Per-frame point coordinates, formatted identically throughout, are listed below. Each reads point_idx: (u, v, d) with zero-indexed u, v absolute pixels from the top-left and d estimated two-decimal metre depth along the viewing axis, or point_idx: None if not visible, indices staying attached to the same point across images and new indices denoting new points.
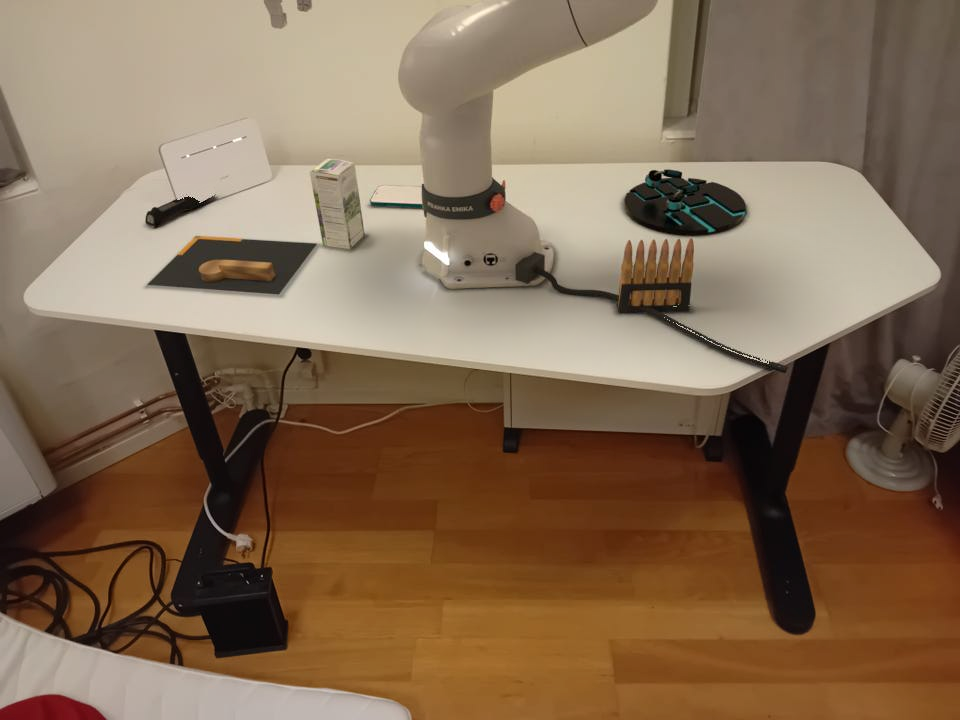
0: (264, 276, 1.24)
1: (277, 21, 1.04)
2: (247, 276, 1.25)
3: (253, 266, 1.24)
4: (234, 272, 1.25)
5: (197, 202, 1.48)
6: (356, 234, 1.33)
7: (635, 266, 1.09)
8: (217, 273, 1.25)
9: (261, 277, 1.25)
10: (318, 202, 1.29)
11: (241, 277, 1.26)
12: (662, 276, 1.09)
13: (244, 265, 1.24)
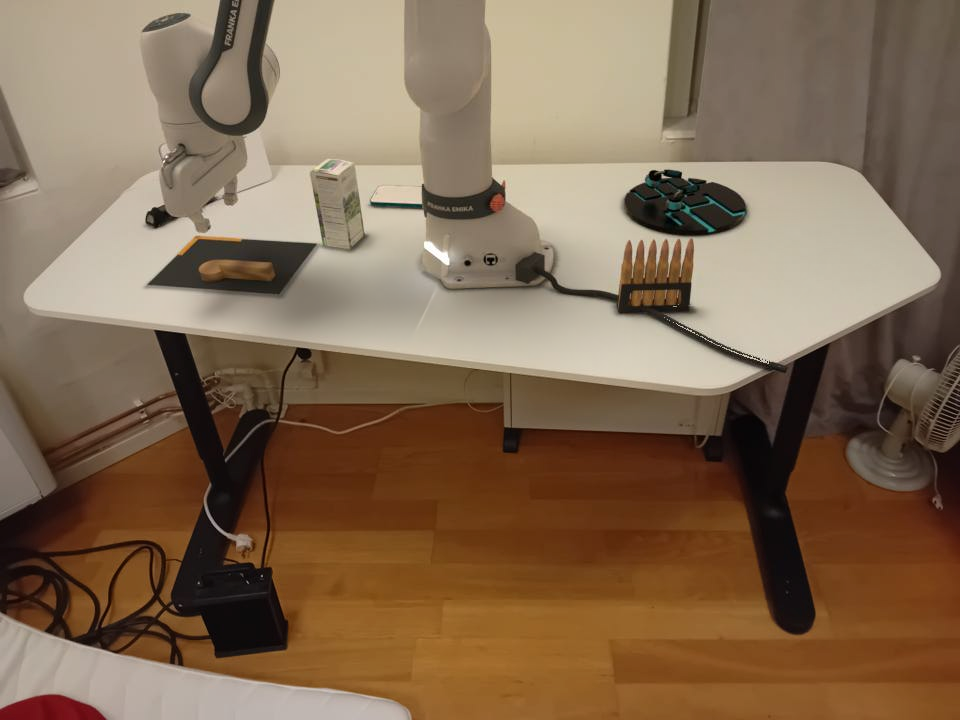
0: (264, 276, 1.24)
1: (201, 227, 1.15)
2: (247, 276, 1.25)
3: (253, 266, 1.24)
4: (234, 272, 1.25)
5: None
6: (356, 234, 1.33)
7: (635, 266, 1.09)
8: (217, 273, 1.25)
9: (261, 277, 1.25)
10: (318, 202, 1.29)
11: (241, 277, 1.26)
12: (662, 275, 1.09)
13: (244, 265, 1.24)
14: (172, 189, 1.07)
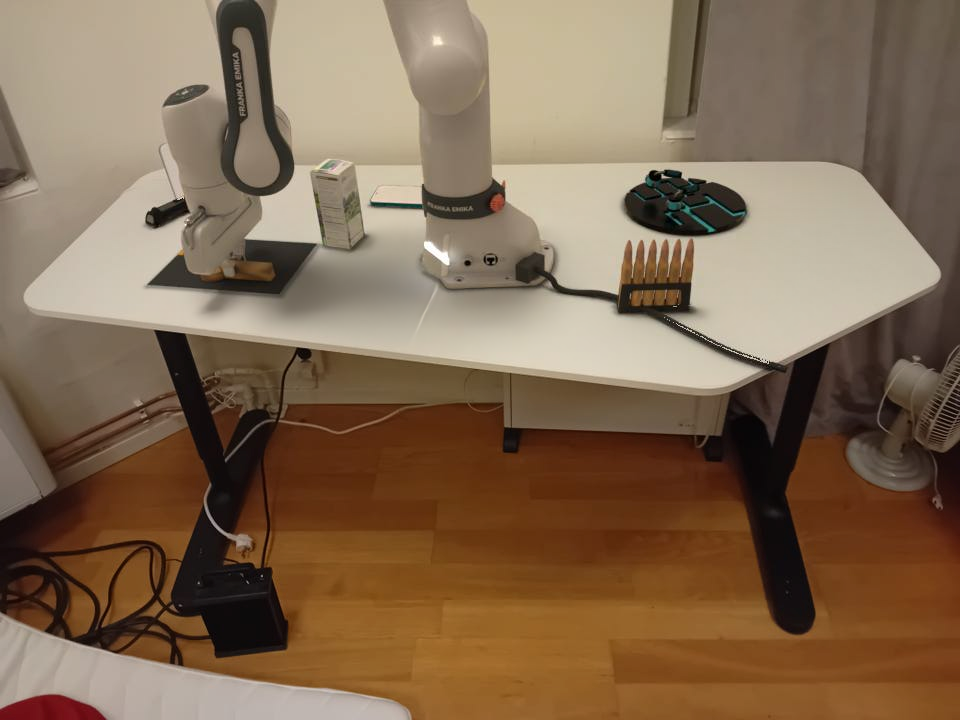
0: (264, 276, 1.24)
1: (228, 271, 1.24)
2: (247, 276, 1.25)
3: (253, 266, 1.24)
4: None
5: None
6: (356, 234, 1.33)
7: (635, 266, 1.09)
8: (217, 273, 1.25)
9: (261, 277, 1.25)
10: (318, 202, 1.29)
11: (241, 277, 1.26)
12: (662, 275, 1.09)
13: (244, 265, 1.24)
14: (193, 249, 1.13)
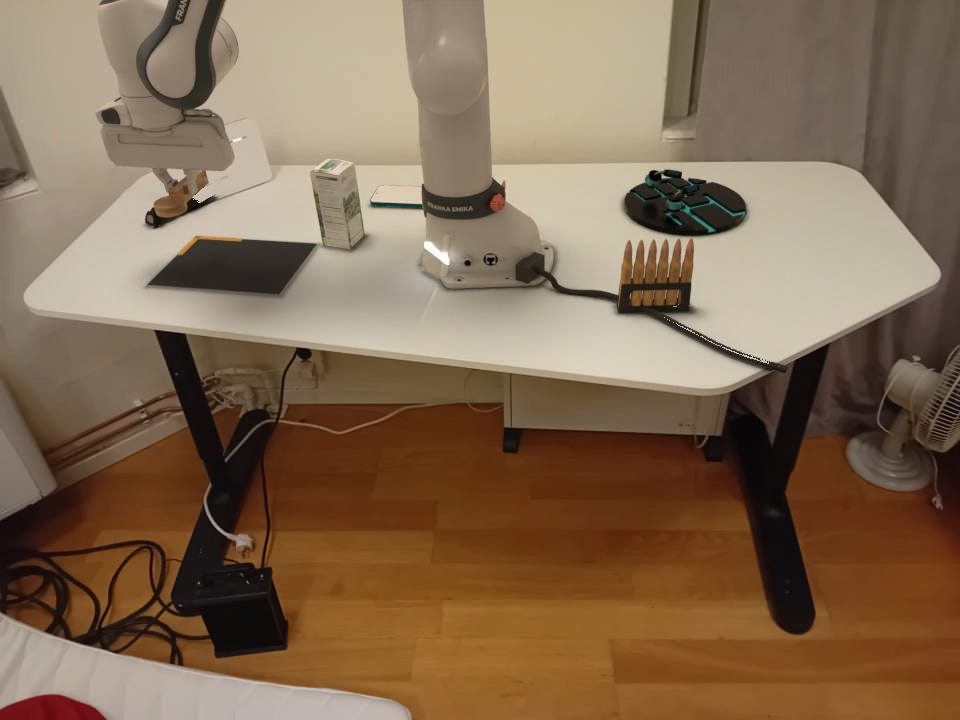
0: (205, 180, 1.26)
1: (194, 187, 1.20)
2: None
3: None
4: None
5: (197, 202, 1.49)
6: (356, 234, 1.33)
7: (635, 266, 1.09)
8: (184, 198, 1.19)
9: (203, 183, 1.25)
10: (318, 202, 1.29)
11: (193, 194, 1.23)
12: (662, 275, 1.09)
13: None
14: (224, 138, 1.14)
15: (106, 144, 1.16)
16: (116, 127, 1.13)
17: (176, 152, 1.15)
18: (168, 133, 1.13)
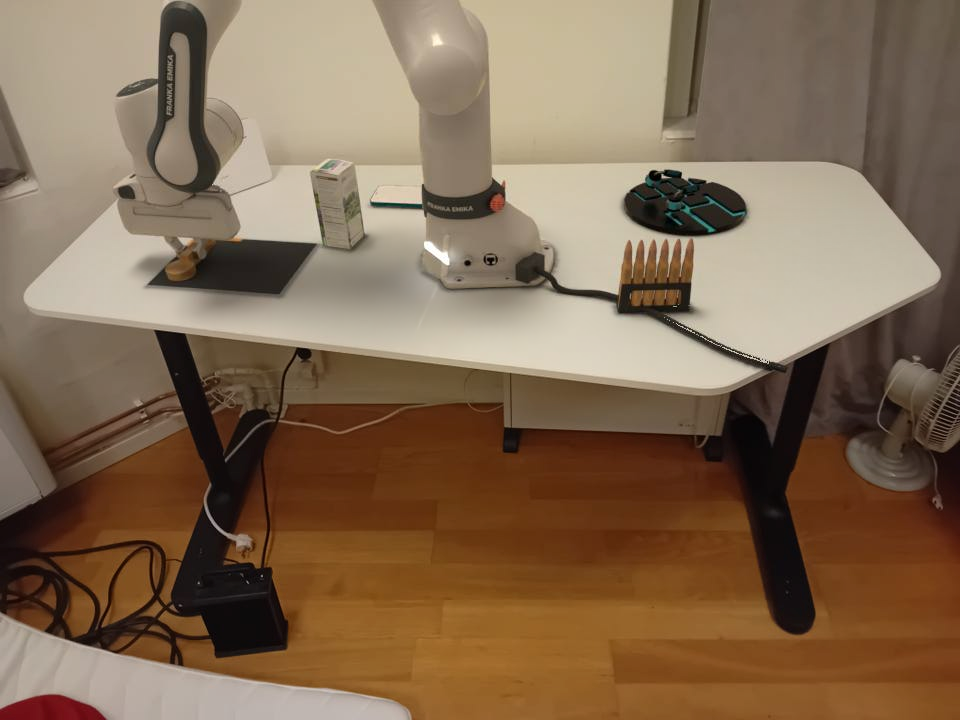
0: (212, 242, 1.35)
1: (203, 252, 1.30)
2: None
3: None
4: None
5: None
6: (356, 234, 1.33)
7: (635, 266, 1.09)
8: (193, 262, 1.28)
9: (211, 245, 1.34)
10: (318, 202, 1.29)
11: None
12: (662, 275, 1.09)
13: None
14: (230, 210, 1.23)
15: (122, 215, 1.25)
16: (131, 201, 1.23)
17: (187, 224, 1.24)
18: (179, 207, 1.22)
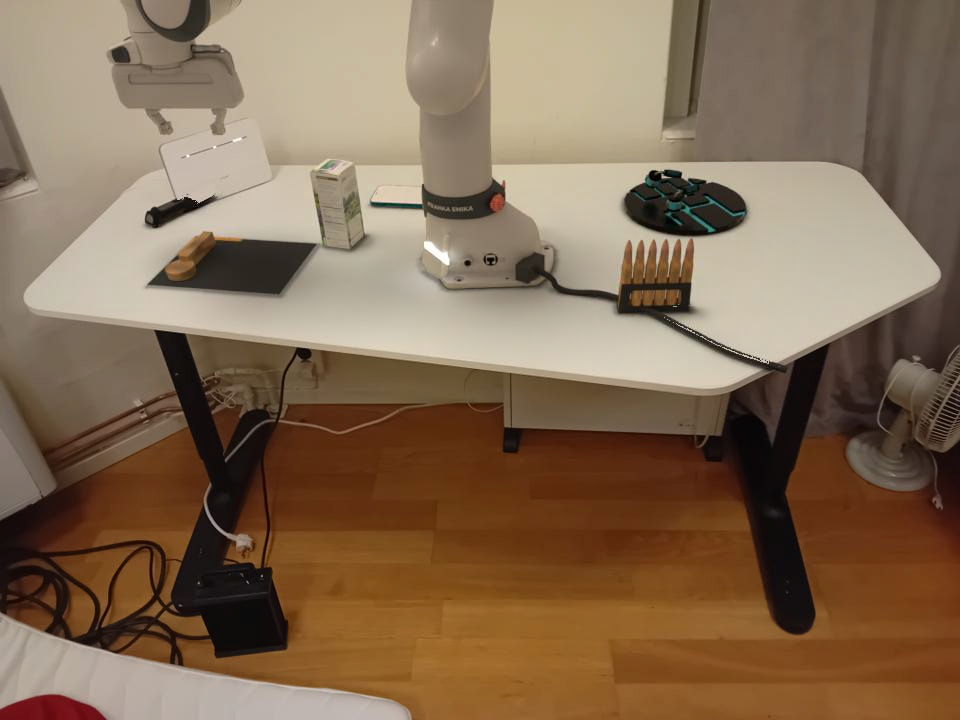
0: (212, 242, 1.35)
1: (222, 128, 1.20)
2: (204, 252, 1.33)
3: (204, 238, 1.33)
4: (197, 255, 1.30)
5: (196, 202, 1.49)
6: (356, 234, 1.33)
7: (635, 266, 1.09)
8: (193, 262, 1.28)
9: (211, 245, 1.34)
10: (318, 202, 1.29)
11: (201, 256, 1.32)
12: (662, 275, 1.09)
13: (199, 243, 1.31)
14: (233, 74, 1.15)
15: (117, 85, 1.17)
16: (126, 66, 1.14)
17: (186, 91, 1.16)
18: (178, 70, 1.13)
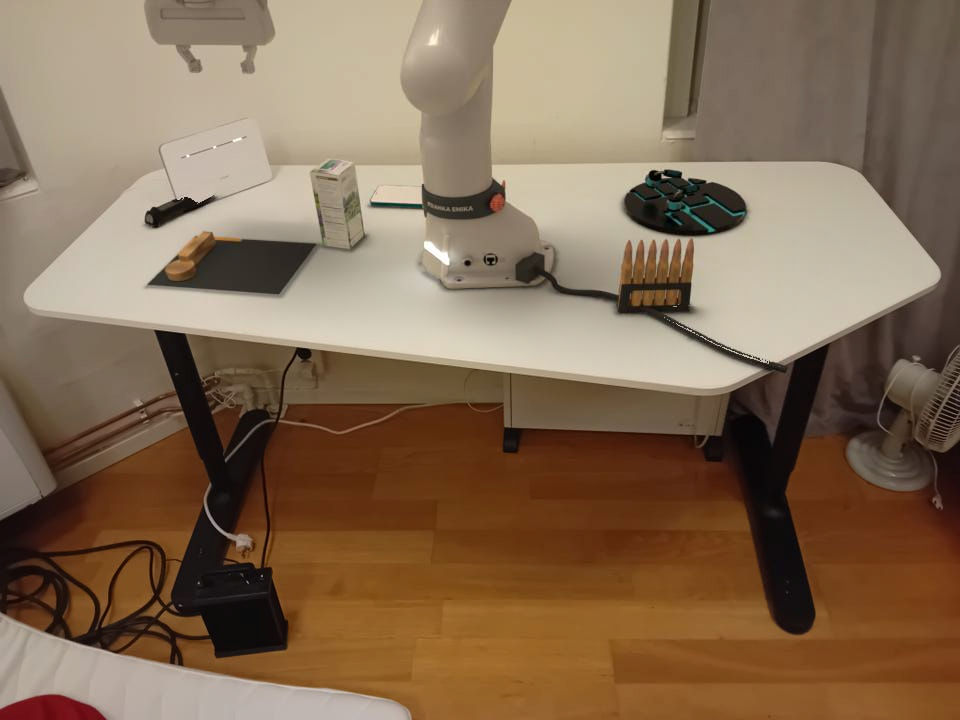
0: (212, 242, 1.35)
1: (252, 66, 1.21)
2: (204, 252, 1.33)
3: (204, 238, 1.33)
4: (197, 255, 1.30)
5: (196, 202, 1.49)
6: (356, 234, 1.33)
7: (635, 266, 1.09)
8: (193, 262, 1.28)
9: (211, 245, 1.34)
10: (318, 202, 1.29)
11: (201, 256, 1.32)
12: (662, 275, 1.09)
13: (199, 243, 1.31)
14: (265, 11, 1.15)
15: (149, 20, 1.17)
16: (159, 0, 1.14)
17: (218, 26, 1.16)
18: (211, 5, 1.14)
